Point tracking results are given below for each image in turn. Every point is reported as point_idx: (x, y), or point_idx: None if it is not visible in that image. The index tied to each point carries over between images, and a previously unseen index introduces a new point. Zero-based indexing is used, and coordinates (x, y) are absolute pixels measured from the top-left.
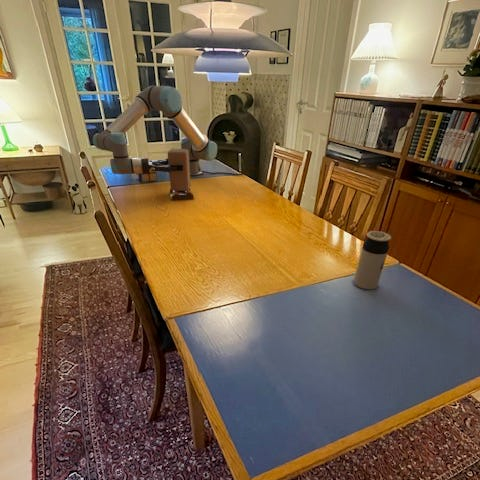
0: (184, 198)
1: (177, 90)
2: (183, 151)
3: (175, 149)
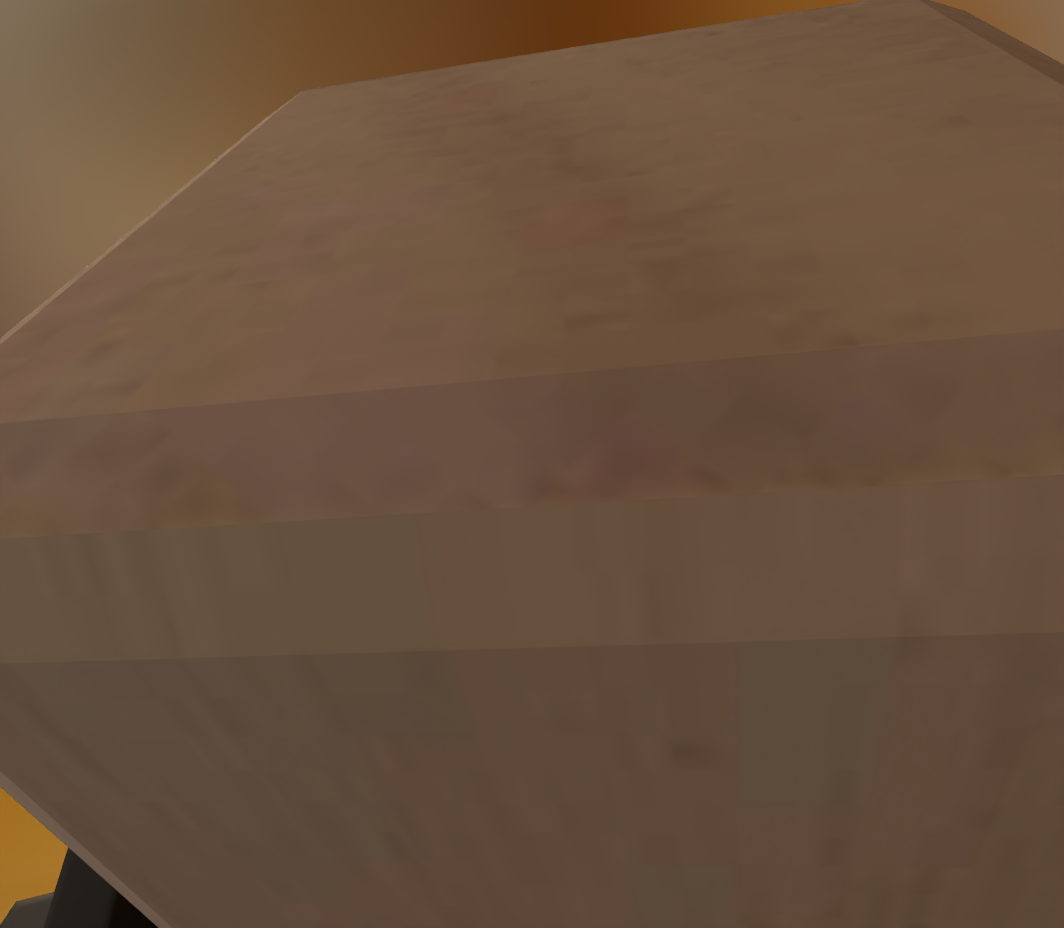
0: None
1: None
2: (828, 18)
3: (323, 242)
